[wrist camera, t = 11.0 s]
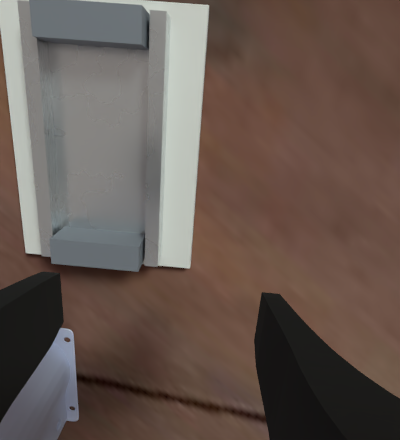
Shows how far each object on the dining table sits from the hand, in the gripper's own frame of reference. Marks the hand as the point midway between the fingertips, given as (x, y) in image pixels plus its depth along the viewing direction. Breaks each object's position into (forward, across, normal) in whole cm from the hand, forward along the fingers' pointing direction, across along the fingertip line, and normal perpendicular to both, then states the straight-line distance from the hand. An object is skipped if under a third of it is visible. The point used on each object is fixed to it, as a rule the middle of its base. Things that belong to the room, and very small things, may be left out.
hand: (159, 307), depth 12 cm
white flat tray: (+10, +5, -4) cm, 12 cm away
